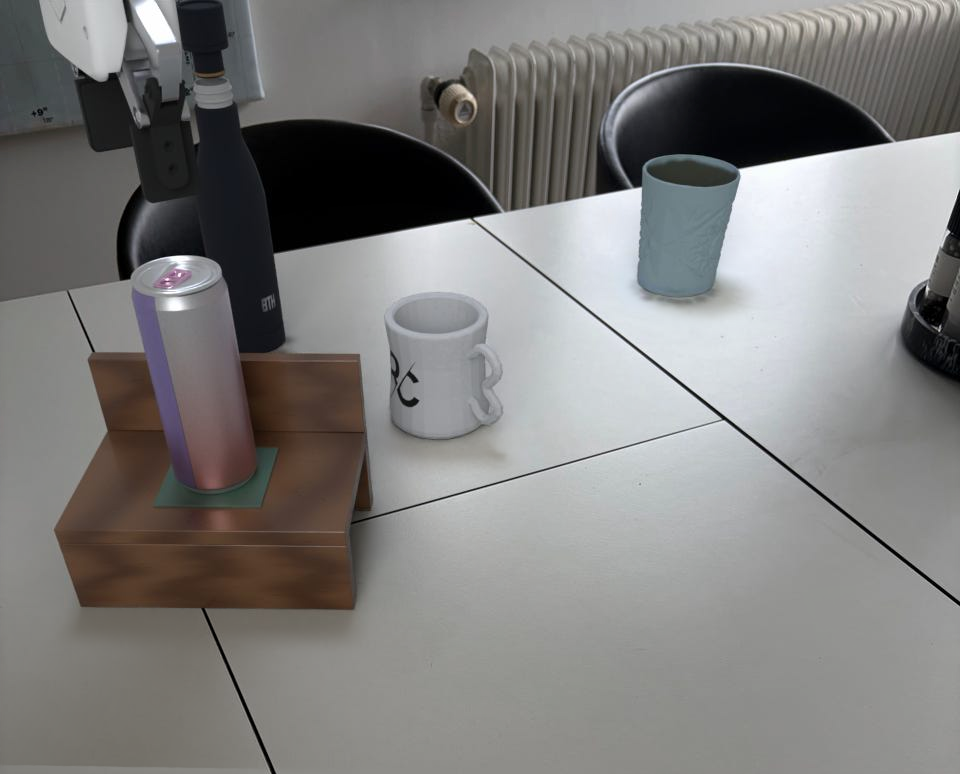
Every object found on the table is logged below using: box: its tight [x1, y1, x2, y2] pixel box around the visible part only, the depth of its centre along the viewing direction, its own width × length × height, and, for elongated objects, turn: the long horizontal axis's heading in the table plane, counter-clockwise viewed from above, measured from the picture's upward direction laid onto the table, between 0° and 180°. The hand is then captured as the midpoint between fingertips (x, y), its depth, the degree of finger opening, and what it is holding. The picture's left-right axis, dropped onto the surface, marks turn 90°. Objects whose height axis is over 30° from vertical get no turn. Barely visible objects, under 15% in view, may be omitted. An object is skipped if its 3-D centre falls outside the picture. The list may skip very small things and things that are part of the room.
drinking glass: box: [636, 153, 742, 298], centre depth 113 cm, size 10×10×12 cm
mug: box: [383, 291, 504, 440], centre depth 91 cm, size 12×9×10 cm
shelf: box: [53, 351, 374, 611], centre depth 76 cm, size 20×14×13 cm
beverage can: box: [130, 254, 258, 494], centre depth 70 cm, size 6×6×15 cm
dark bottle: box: [176, 0, 286, 353], centre depth 96 cm, size 6×6×30 cm
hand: (143, 171), depth 62 cm, fingers open, 9 cm apart
